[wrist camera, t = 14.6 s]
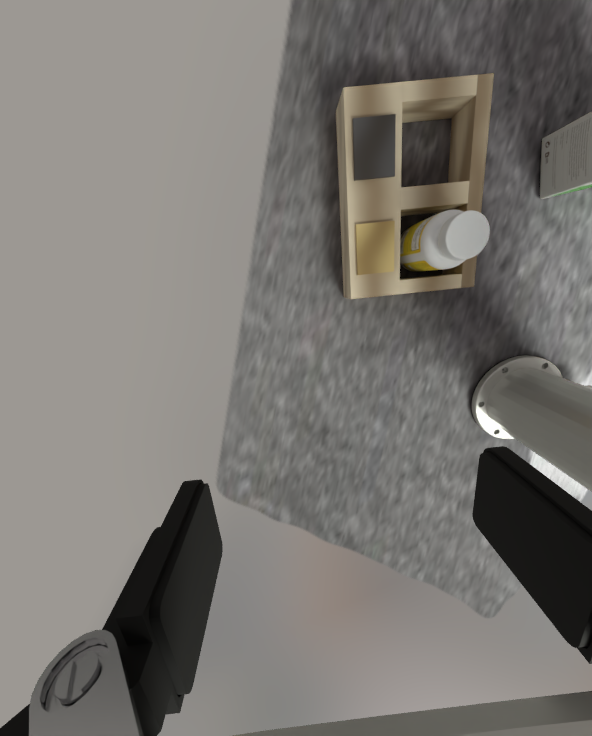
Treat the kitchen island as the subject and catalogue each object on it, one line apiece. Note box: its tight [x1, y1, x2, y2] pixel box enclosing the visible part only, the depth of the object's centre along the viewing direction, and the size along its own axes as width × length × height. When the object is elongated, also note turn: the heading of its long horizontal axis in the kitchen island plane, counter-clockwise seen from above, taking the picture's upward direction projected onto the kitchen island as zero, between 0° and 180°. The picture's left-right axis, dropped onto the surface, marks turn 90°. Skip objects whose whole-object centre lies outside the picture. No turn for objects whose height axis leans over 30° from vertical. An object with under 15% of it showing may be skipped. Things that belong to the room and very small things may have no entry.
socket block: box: [336, 73, 494, 299], centre depth 30 cm, size 14×19×4 cm
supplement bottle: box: [400, 210, 490, 272], centre depth 29 cm, size 5×5×10 cm
